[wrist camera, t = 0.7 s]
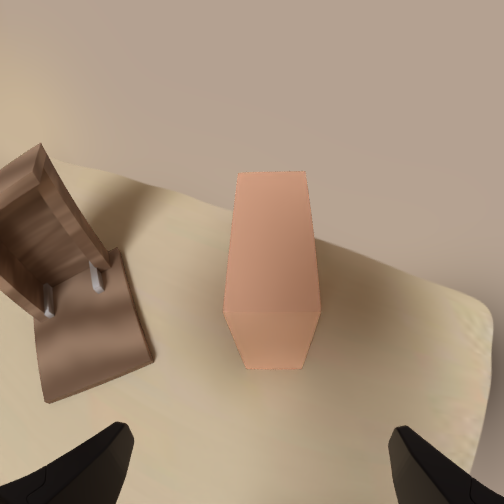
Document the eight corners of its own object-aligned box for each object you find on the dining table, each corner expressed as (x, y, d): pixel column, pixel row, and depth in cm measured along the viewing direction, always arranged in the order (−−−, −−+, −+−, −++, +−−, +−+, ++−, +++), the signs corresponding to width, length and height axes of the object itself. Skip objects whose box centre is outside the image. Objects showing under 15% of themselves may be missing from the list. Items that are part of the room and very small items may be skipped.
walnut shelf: (153, 362, 23) (33, 256, 10) (49, 403, 20) (-80, 338, 7) (120, 251, 31) (52, 135, 18) (36, 295, 28) (-46, 207, 15)
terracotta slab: (301, 368, 22) (321, 311, 13) (246, 368, 22) (222, 312, 13) (297, 266, 28) (305, 171, 19) (251, 267, 28) (238, 172, 19)
